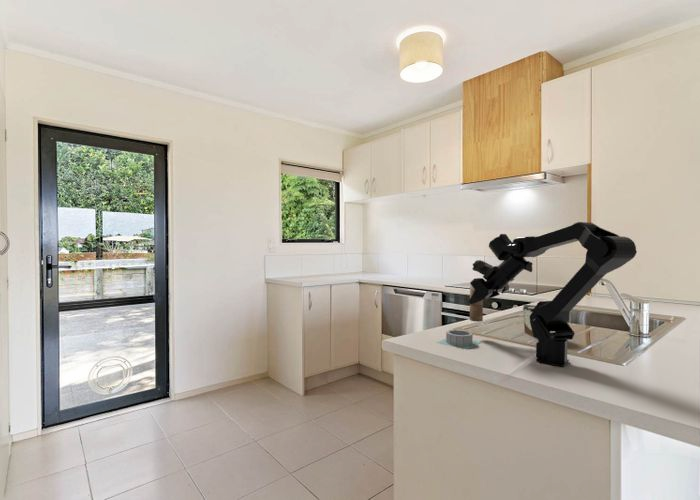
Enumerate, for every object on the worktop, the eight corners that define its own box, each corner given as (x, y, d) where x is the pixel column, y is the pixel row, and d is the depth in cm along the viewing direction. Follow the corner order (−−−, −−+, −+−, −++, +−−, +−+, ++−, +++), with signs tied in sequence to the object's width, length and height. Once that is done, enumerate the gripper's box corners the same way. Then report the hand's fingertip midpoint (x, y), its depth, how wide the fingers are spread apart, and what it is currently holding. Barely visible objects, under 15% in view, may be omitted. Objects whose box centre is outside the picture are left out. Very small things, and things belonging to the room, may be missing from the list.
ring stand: (481, 345, 111) (481, 332, 111) (467, 352, 103) (467, 338, 103) (451, 339, 118) (451, 327, 118) (436, 345, 110) (436, 332, 110)
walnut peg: (484, 320, 117) (485, 286, 117) (479, 322, 114) (480, 287, 114) (472, 318, 120) (473, 285, 120) (467, 320, 117) (467, 286, 117)
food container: (559, 341, 116) (559, 311, 116) (539, 341, 117) (540, 310, 116) (539, 332, 129) (540, 304, 129) (522, 332, 129) (522, 304, 129)
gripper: (499, 251, 121) (467, 282, 129) (477, 252, 107) (442, 286, 115) (524, 276, 116) (489, 306, 123) (503, 280, 102) (466, 313, 110)
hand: (472, 302), depth 118 cm, fingers closed on walnut peg, 4 cm apart
